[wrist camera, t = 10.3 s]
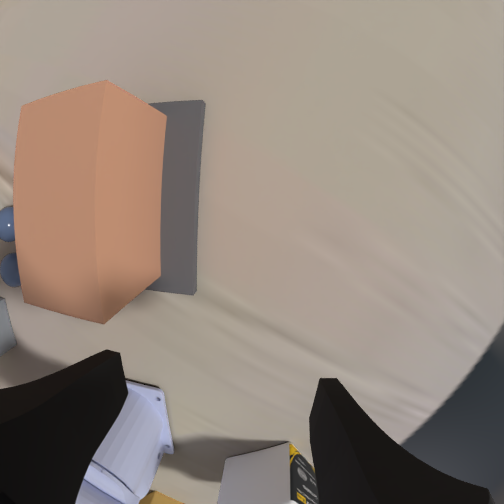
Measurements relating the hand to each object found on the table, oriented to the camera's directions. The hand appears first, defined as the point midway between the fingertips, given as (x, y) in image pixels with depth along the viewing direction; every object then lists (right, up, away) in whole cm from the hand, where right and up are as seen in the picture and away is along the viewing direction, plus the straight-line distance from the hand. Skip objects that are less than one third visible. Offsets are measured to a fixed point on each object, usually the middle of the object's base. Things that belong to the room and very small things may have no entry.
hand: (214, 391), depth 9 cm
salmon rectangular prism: (-7, +8, +7) cm, 13 cm away
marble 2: (-19, +4, +10) cm, 22 cm away
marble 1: (-19, +8, +9) cm, 22 cm away
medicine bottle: (+3, -17, +13) cm, 22 cm away
